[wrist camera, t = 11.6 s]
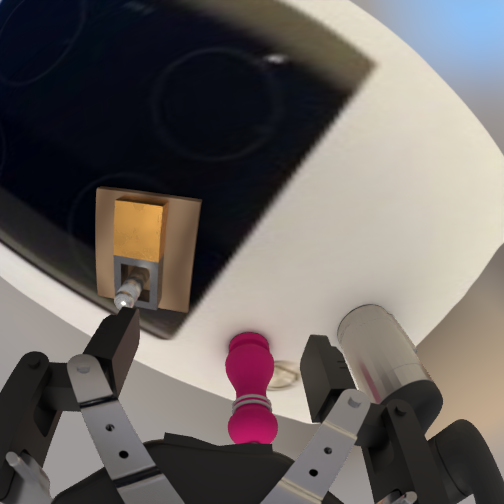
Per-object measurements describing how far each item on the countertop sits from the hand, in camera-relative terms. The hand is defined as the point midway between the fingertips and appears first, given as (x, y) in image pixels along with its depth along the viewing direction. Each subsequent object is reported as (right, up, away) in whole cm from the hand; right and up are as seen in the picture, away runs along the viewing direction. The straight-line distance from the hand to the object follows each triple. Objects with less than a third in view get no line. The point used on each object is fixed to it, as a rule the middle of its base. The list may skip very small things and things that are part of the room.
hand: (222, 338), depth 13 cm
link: (-13, +4, +24) cm, 28 cm away
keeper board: (-13, +4, +26) cm, 29 cm away
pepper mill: (+1, -11, +33) cm, 35 cm away
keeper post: (-14, +1, +26) cm, 29 cm away
